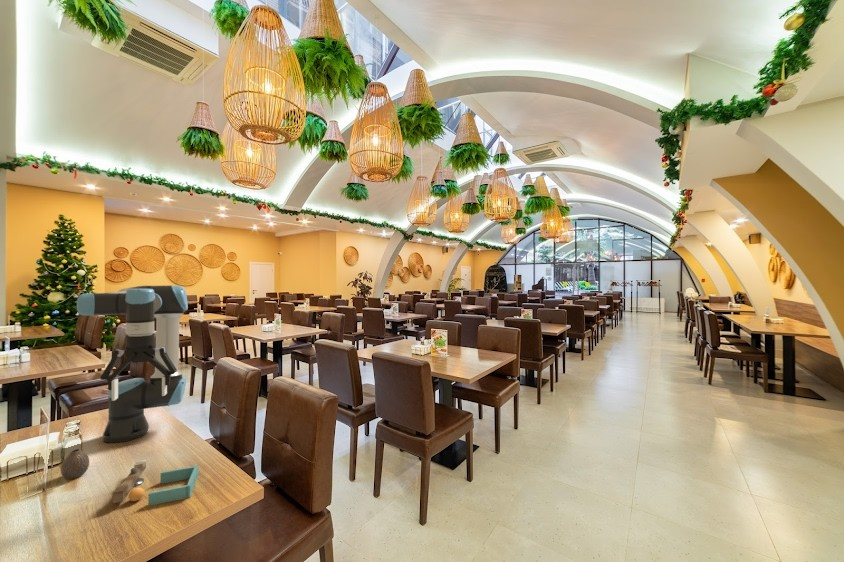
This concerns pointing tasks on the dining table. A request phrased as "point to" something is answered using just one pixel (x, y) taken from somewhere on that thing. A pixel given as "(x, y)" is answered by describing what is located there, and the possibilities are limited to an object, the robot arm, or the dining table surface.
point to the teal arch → (175, 492)
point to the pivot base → (139, 482)
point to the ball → (136, 494)
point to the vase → (75, 464)
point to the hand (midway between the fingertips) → (140, 397)
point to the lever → (129, 482)
